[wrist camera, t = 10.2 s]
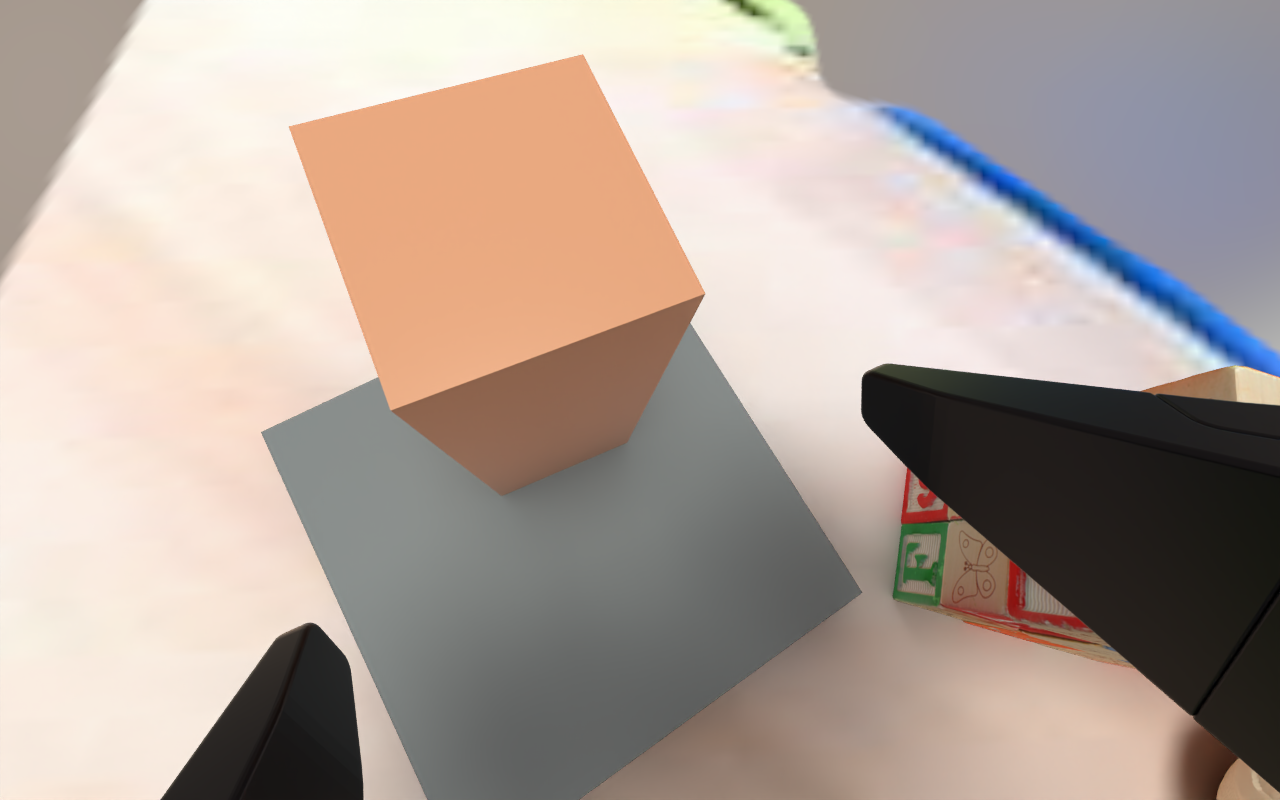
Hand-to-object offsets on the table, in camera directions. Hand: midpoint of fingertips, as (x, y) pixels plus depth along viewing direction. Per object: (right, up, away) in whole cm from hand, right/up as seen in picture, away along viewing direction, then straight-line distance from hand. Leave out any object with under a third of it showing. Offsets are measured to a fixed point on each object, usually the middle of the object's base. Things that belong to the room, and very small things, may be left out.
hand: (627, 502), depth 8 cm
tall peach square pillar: (-4, +1, +12) cm, 13 cm away
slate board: (-3, -3, +12) cm, 13 cm away
